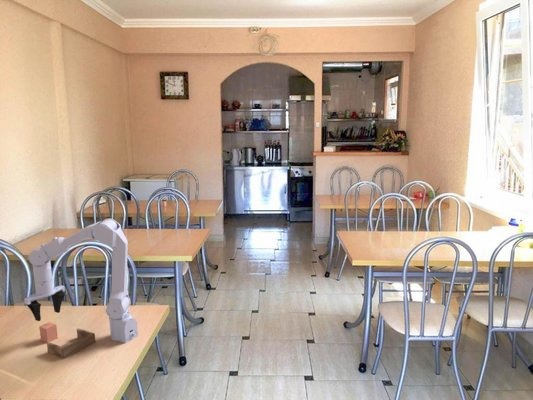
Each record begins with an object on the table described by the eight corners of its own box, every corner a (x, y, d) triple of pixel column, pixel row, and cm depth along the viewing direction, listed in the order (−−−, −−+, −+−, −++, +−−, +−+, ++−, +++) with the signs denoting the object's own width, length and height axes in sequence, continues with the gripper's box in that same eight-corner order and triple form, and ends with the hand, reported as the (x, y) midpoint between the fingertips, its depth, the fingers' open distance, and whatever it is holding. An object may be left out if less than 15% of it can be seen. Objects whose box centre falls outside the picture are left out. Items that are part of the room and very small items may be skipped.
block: (58, 339, 165) (56, 324, 164) (48, 344, 162) (46, 328, 161) (51, 337, 167) (49, 322, 166) (41, 342, 164) (39, 326, 163)
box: (95, 343, 161) (94, 333, 160) (64, 360, 150) (63, 349, 150) (79, 338, 165) (78, 328, 165) (48, 354, 155) (46, 343, 154)
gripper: (54, 272, 169) (58, 306, 171) (17, 285, 157) (22, 321, 159) (66, 275, 165) (70, 310, 168) (29, 288, 153) (34, 325, 155)
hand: (47, 316), depth 163 cm, fingers open, 7 cm apart
